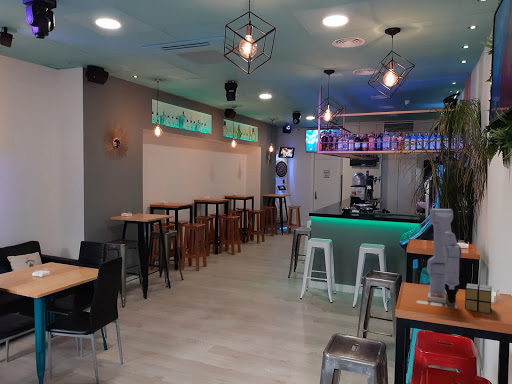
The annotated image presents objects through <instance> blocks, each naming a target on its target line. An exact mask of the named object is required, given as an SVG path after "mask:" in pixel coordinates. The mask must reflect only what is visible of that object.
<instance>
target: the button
mask: <svg viewBox="0 0 512 384" xmlns="http://www.w3.org/2000/svg"><path fill="white" fill-rule="evenodd" d="M431 297H438V298H442V297H443V295H442V294H440V293H432V295H431Z"/></svg>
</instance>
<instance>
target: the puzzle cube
mask: <svg viewBox="0 0 512 384" xmlns="http://www.w3.org/2000/svg"><path fill="white" fill-rule="evenodd" d="M492 290H493V289H492V286H490V285H483V284H474V283H466V285H465V292H464V293H465V295H464V296H465V298H464V299H465V300H464V309H466V310H470V311H471V312H479V313H482V314H492V293H493V292H492Z"/></svg>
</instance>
